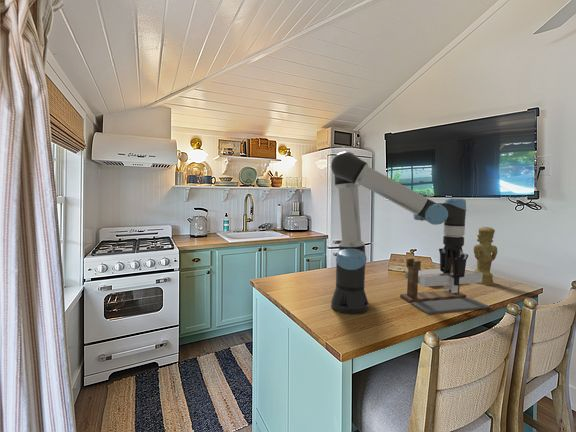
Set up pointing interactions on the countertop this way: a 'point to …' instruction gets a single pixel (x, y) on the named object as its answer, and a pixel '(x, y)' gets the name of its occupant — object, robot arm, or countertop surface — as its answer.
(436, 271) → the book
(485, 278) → the statue
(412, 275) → the rack
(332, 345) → the countertop surface
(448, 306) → the mat
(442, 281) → the rail
